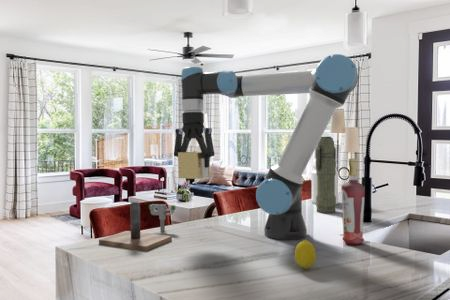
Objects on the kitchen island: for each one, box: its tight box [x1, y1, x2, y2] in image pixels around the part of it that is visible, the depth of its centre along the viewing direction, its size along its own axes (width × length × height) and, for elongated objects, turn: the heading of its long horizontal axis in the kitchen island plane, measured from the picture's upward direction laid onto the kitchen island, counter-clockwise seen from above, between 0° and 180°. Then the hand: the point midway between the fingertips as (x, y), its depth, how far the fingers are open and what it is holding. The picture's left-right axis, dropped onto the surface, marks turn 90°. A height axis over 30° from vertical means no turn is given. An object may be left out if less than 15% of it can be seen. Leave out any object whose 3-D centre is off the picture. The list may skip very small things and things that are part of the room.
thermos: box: [315, 136, 337, 214], centre depth 190 cm, size 9×12×35 cm
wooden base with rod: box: [98, 201, 173, 252], centre depth 139 cm, size 20×14×14 cm
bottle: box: [310, 157, 340, 205], centre depth 213 cm, size 14×14×28 cm
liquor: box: [341, 158, 366, 246], centre depth 134 cm, size 7×7×28 cm
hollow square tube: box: [177, 150, 211, 180], centre depth 144 cm, size 8×8×9 cm
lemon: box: [294, 239, 317, 270], centre depth 109 cm, size 6×6×8 cm
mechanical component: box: [148, 203, 177, 232], centre depth 156 cm, size 3×10×10 cm, turn 78°
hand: (194, 176), depth 144 cm, fingers closed on hollow square tube, 8 cm apart
